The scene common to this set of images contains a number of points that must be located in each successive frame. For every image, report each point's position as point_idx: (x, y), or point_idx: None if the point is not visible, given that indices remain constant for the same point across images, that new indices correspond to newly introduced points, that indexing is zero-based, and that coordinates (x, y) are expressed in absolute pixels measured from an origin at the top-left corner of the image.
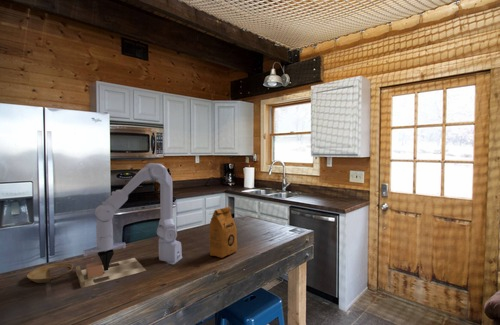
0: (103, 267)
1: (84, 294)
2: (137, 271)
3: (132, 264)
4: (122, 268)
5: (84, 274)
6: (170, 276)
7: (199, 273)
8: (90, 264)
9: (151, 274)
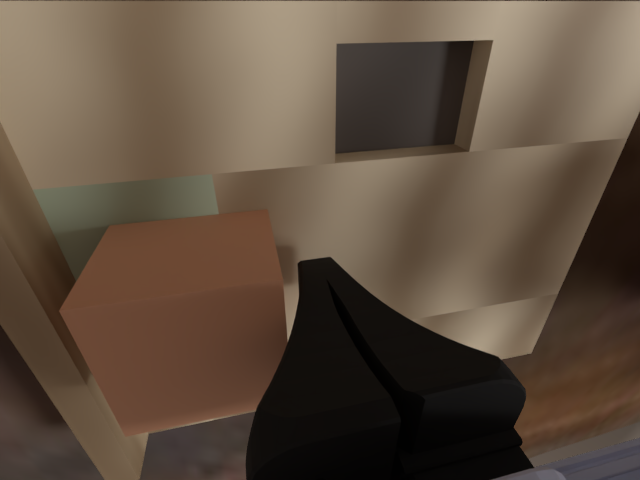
0: (299, 274)
1: (155, 445)
2: (490, 347)
3: (546, 207)
4: (447, 252)
5: (84, 210)
6: (558, 401)
7: (634, 411)
8: (140, 338)
9: (524, 357)
